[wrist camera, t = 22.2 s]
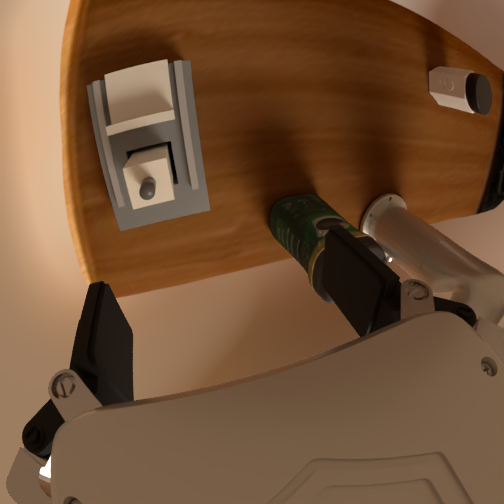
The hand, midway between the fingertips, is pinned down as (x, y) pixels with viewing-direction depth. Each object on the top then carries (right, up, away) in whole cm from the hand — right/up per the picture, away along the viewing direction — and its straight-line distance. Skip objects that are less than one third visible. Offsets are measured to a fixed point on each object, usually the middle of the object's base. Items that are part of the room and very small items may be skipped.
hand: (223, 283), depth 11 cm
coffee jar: (+8, +7, +33) cm, 35 cm away
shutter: (-11, +18, +13) cm, 25 cm away
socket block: (-12, +16, +21) cm, 29 cm away
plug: (-12, +14, +22) cm, 29 cm away
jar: (+40, +36, +26) cm, 60 cm away
